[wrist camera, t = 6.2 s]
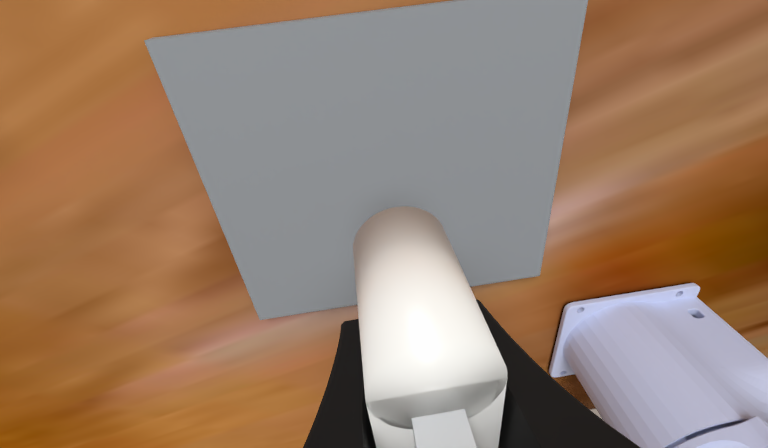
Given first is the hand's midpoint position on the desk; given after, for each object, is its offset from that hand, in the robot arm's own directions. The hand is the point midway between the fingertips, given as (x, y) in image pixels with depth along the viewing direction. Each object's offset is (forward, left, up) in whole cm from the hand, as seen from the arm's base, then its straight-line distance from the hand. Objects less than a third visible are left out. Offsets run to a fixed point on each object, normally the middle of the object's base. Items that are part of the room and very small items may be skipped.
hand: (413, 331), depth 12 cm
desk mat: (0, -1, -9) cm, 9 cm away
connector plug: (0, 0, -2) cm, 2 cm away
